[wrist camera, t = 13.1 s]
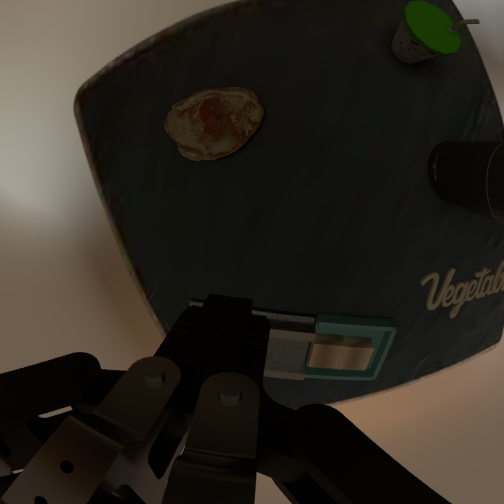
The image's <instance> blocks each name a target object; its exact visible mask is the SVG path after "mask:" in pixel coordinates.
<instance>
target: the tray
mask: <svg viewBox="0 0 504 504" xmlns="http://www.w3.org/2000/svg"><path fill="white" fill-rule="evenodd" d="M315 329H316V333H325V334H337V335H343V336H356V337H371V340H372V343H373V346H374V350H373V353H372V355H371V358H370V360H369V362H368V365H367V367H366V369H365V370H341V369H332V368H317V367H308V355H307V359H306V363H305V377H306V378H319V379H338V380H375V379H376V377H377V375H378V373H379V370H380V368H381V366H382V364H383V362H384V360H385V357H386V355H387V353H388V350H389V348H390V346H391V343H392V341H393V339H394V336H395V334H396V331H397V329H398V327H397V325H396V323H395V321H394V319H393V318H384V317H369V316H356V315H344V314H333V313H322V312H318V314H317V318H316V323H315ZM310 345H311V344H310ZM309 349H310V348H309ZM308 352H309V351H308Z"/></svg>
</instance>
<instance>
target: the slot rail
mask: <svg viewBox="0 0 504 504" xmlns="http://www.w3.org/2000/svg"><path fill="white" fill-rule="evenodd" d="M205 301H206V300H201V299H195V298H191V299H190V301H189V303H190V304H189V305H188V307H187V308H186V309H188V308H189V307H191V306H192V305H197V306H203V304H204V302H205ZM252 314H256V315H264V316H266V317H267V319H268V321H269V323H270V325H271V328H270V335H269V342H268V349H267V356H266V363H265V369H264V376H268V377H276V378H285V379H295V380H304V377H305V358H306V354H307V350H308V346H309V342H310V341H311V342H314V340H315V336H316V329H315V314H305V313H296V312H287V311H279V310H271V309H263V308H255V307H253V310H252Z"/></svg>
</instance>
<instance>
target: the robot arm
mask: <svg viewBox="0 0 504 504" xmlns="http://www.w3.org/2000/svg"><path fill="white" fill-rule="evenodd" d="M428 173H429V179H430V182H431V185H432V187H433V189H434V191H435V192H436V193H437V195H438V196H440V197H441V198H442V199H444V200H446V201H448V202H451V203H453V204H456V205H458V206H461V207H463V208H466V209H468V210H470V211H473V212H475V213H477V214H480V215H482V216H484V217H487V218H489V219H491V220H493V221H495V222H497V223H500V224H502V225H504V142H488V141H446V142H442V143H440V144H439V145H438V146H437V147H435V149H434V150H433V152H432V154H431V156H430V159H429V164H428ZM252 310H253V300H252V299H245V298H238V297H230V296H223V295H216V294H209V295H208V297H207V299H206V301H205V302H204V304H203V306H197V305H192V306H191V307H189V308H188V309H186V310H184V311H183V312H182V313H181V315H180V316H179V318H178V319H177V322H175V324H174V325H173V327H172V330H170V331H169V333H168V334H167V336H166V337H165V339H164V341H163V342H162V344H161V345H160V347H159V348H158V350H157V351H156V353H155V354H154V356H152V357H146V358H142V359H140V360H138V361H136V362H135V363H133V364H132V365H131V367H130V368H129V369H128V370H127V371H120V370H106V369H101V367H100V364H99V361H98V360H97V358H95V357H94V356H93V355H91V354H89V353H85V352H76V353H71V354H68V355H65V356H61V357H58V358H55V359H51V360H48V361H44V362H41V363H38V364H35V365H31V366H27V367H24V368H20V369H16V370H13V371H9V372H5V373H2V374H0V504H254V501H255V489H256V472H259V473H261V474H263V475H266V476H268V477H271V478H272V479H273V481H274V482H275V484H276V485H277V487H278V488H279V489H280V490H281V491H282V492H283V494H284V495H285V496H286V497H287V499H288V500H289V501H290V502H291V503H292V504H452V503H450V502H448V501H447V500H446V499H445V498H443V497H442V496H440V495H439V494H438V493H436V492H435V491H434V490H432V489H431V488H430V487H428V486H427V485H426V484H425V483H423V482H422V481H421V480H419V479H418V478H417V477H416V476H414V475H413V474H412V473H410V472H409V471H408V470H407V469H405V468H404V467H403V466H402V465H401V464H399V463H398V462H397V461H396V460H394V459H393V458H392V457H391V456H390V455H389V454H387V453H386V452H385V451H384V450H382V449H381V448H380V447H379V446H378V445H377V444H376V443H374V442H373V441H372V440H371V439H369V437H367V436H366V435H365V434H364V433H363V432H362V431H361V430H359V429H358V428H357V427H356V426H355V425H354V424H353V423H352V422H350V421H349V420H348V419H347V418H346V417H345V416H344V415H343V414H342V413H341V412H339V411H338V410H336V409H335V408H333V407H330V406H327V405H323V404H309V405H305V406H302V407H300V408H298V409H297V410H294V409H291V408H288V407H286V406H283V405H281V404H279V403H277V402H275V401H274V400H272V399H271V398H270V397H269V396H268V395H267V393H266V392H265V390H264V388H263V376H264V369H265V363H266V356H267V349H268V342H269V335H270V328H271V325H270V323H269V321H268V319H267V317H266V316H264V315H256V314H252ZM68 406H71V407H72V409H73V410H71V411H67V412H64V413H61V414H58V415H55V416H51V417H48V418H41V417H39V416H38V415H41V414H45V413H48V412H51V411H55V410H58V409H61V408H64V407H68ZM189 428H190V429H189ZM184 446H185V448H184ZM183 448H184V450H183ZM182 450H183V453H182V454H181V452H182ZM180 454H181V455H180ZM20 469H24V470H23V471H22V472H19V473H15V474H14V473H13V472H12V471H15V470H20ZM167 480H168V481H167ZM166 483H167V485H166ZM165 487H166V488H165Z"/></svg>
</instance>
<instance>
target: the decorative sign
mask: <svg viewBox="0 0 504 504" xmlns="http://www.w3.org/2000/svg"><path fill="white" fill-rule="evenodd" d="M503 267H504V260H503V259H501V261H500V262H499V264H498V266H497V268H496V271H495V273H494V274H492V273H491V274H490V276H489V275H488V273H489V272H490V268H485V267H484V266H483V268H482V269H481V271H475V272H474V276H475V277H478V280H477V281H476V280H475V279H474V278H472V279H471V280H470V281H469V282H468V281H464V283H462V282H461V281H459V282H457V283H456V285H455V287H454V286H453V285H452V284H449V283H450V281H451V279H452V276H453V274H454V272H455V269H454V268H453V267H451V268H449V269H448V271H447V273H446V275H445V278H444V281H443V283H442V286H441V288H440V290H439V293H438V295H437V297H436V299H435V300H434V302H432V300H433V297H434V294H435V291H436V288H437V285H438V281H439V275H438V274H437V273H436V272H434V271H433V272H430V273H428V274H427V275H425V276H424V277H423V278H422V279H421V280H420V283H421V285H424V284H425V283H426V282H427V281H428V280H429V279H432V278H433V279H432V284H431V287H430V290H429V293H428V296H427V299H426V306H427V308H428V309H429V310H433V309H435V308H436V307H437V306H438V305H439V303H440V302H441V304H442V305H443V306H444V307H447V306H449V305H450V304H451V303H453V304H455V305H454V306H453V307H452V308H451V310H450V312H449V316H450V318H454V317H455V316H456V314H457V312H458V310H459V308H460V306H461V305H462V304H463V303H464V302H465V300H467V301H470V300H472V299H473V298H474V296H475V297H476V298H480V297H484V296H485V294H487V295H490V294H491V293H494V292H495V293H497V292H498V291H499V289H501V290H502V291H504V271H502V270H503ZM486 274H487V275H486ZM484 275H485V276H484ZM483 277H484V278H483ZM487 280H488V282H487ZM498 281H499V282H498ZM486 282H487V285H486V288H485V289H484V286H485V284H486ZM497 283H498V284H497ZM460 288H461V291H460V293H459V295H458V296H457V293H458V291H459V289H460ZM448 292H449V293H448ZM472 292H473V293H472ZM447 293H448V294H447ZM471 293H472V294H471ZM469 294H471V295H470V296H469ZM456 296H457V298H456ZM450 297H451V298H450ZM449 298H450V299H449ZM447 299H449V300H448V301H447V302H446V300H447Z"/></svg>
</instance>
